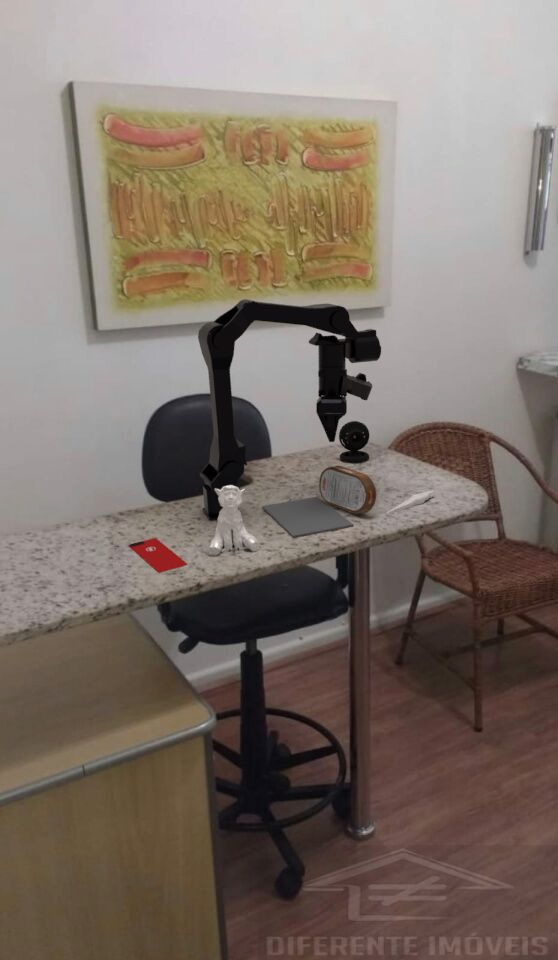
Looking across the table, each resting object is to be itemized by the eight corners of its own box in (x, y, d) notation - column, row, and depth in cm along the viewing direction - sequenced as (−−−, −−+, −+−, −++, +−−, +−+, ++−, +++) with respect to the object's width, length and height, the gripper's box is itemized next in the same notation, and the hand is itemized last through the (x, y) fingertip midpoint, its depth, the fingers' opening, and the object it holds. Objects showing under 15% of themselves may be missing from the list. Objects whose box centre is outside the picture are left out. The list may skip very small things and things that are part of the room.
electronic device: (188, 566, 136) (155, 539, 148) (188, 563, 136) (155, 537, 148) (158, 575, 133) (128, 547, 145) (158, 572, 133) (127, 544, 145)
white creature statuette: (209, 557, 138) (204, 496, 134) (204, 539, 146) (199, 481, 142) (259, 551, 140) (256, 491, 136) (252, 534, 148) (248, 476, 144)
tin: (373, 517, 154) (380, 477, 152) (363, 518, 151) (370, 477, 150) (324, 499, 165) (330, 462, 163) (314, 499, 163) (319, 461, 161)
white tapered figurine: (428, 494, 165) (428, 486, 164) (438, 498, 163) (438, 490, 162) (381, 515, 156) (381, 507, 155) (391, 519, 154) (391, 511, 154)
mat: (293, 537, 145) (293, 535, 145) (262, 507, 161) (262, 506, 161) (353, 526, 150) (353, 524, 149) (317, 498, 166) (317, 496, 165)
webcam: (341, 464, 188) (341, 425, 185) (337, 455, 195) (336, 418, 192) (372, 462, 188) (372, 424, 185) (366, 453, 195) (366, 416, 192)
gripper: (371, 372, 149) (370, 448, 154) (368, 357, 167) (367, 425, 172) (315, 373, 150) (316, 448, 155) (318, 357, 168) (319, 425, 173)
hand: (332, 436), depth 163 cm, fingers open, 9 cm apart
